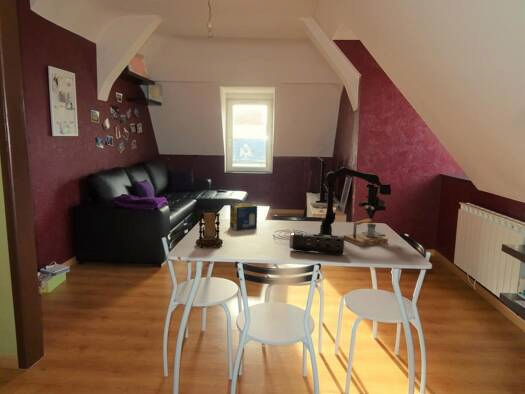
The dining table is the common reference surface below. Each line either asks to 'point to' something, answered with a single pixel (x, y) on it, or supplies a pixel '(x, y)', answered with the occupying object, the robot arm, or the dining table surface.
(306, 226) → the dining table surface
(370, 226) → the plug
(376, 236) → the socket base
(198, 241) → the wooden hourglass
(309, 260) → the dining table surface
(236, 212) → the protein box
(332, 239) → the muzzle brake
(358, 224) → the bar
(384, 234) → the rubber mat
